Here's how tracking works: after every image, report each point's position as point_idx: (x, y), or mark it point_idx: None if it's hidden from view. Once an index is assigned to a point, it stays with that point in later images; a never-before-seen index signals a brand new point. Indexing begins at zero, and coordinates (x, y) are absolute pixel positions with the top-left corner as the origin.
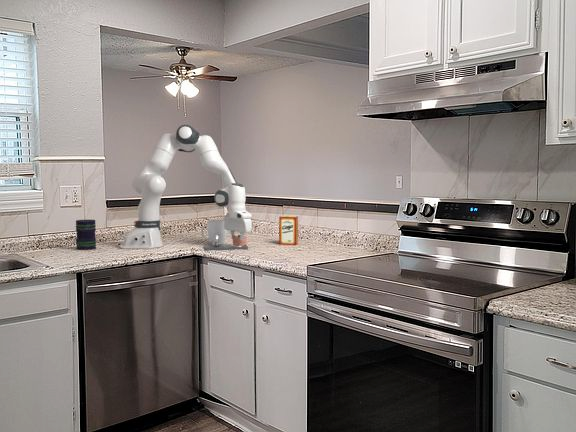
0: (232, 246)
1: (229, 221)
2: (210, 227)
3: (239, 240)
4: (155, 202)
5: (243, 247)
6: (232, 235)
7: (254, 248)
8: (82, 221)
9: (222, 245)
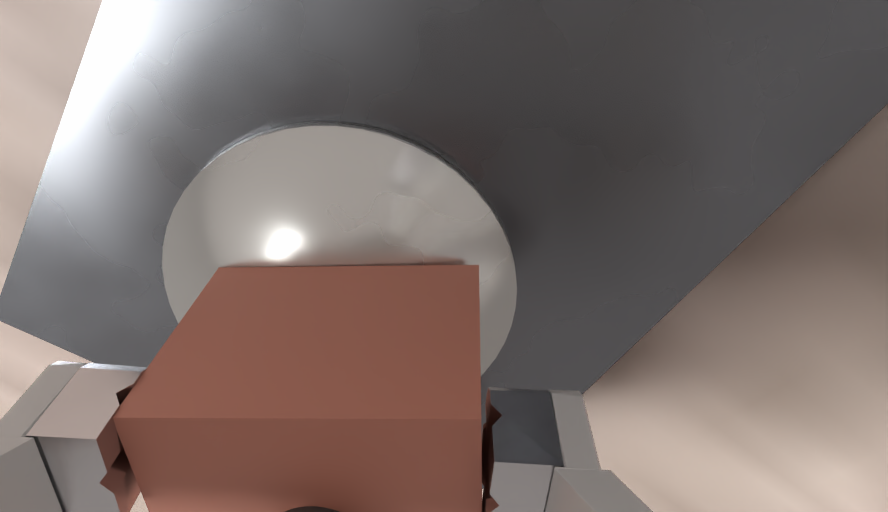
0: (310, 122)
1: None
2: None
3: (156, 363)
4: None
5: (25, 232)
6: (560, 493)
7: None
8: None
9: (696, 38)
